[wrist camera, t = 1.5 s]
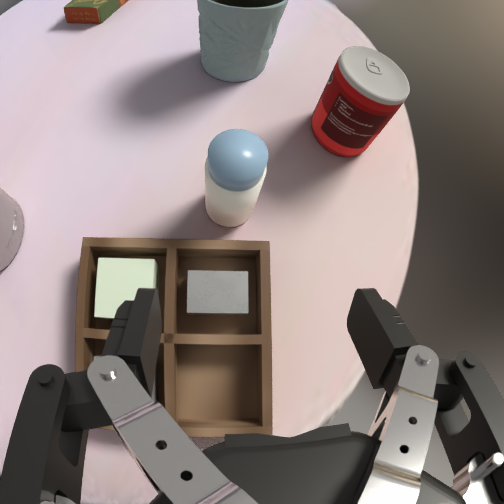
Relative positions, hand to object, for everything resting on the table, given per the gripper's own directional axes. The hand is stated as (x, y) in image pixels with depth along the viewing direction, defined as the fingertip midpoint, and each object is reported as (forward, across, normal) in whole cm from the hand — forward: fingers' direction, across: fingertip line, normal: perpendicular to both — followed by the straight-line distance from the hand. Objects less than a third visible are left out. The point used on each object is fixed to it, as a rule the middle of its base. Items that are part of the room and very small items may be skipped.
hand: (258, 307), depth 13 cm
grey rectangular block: (+13, +2, +10) cm, 16 cm away
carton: (+50, +23, -26) cm, 61 cm away
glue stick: (+20, 0, +4) cm, 21 cm away
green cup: (+35, 0, -12) cm, 37 cm away
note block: (+13, +9, +9) cm, 19 cm away
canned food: (+28, -13, -4) cm, 31 cm away
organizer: (+11, +5, +13) cm, 18 cm away
